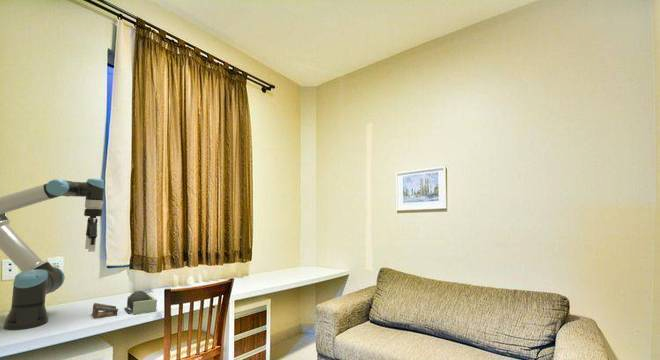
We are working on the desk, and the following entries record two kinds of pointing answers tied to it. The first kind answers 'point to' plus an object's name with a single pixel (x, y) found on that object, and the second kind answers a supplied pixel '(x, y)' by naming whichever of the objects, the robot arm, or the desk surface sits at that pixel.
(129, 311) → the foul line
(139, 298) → the decorative ball
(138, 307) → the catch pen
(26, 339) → the desk surface
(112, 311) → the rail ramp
